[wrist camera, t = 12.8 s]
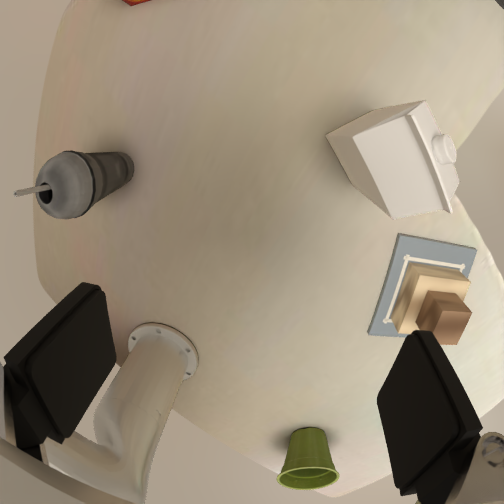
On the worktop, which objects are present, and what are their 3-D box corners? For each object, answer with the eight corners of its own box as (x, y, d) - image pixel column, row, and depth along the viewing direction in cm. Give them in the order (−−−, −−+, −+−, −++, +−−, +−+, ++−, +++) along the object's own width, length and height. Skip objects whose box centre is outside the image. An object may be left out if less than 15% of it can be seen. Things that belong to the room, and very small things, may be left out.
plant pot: (282, 419, 53) (280, 466, 43) (341, 420, 52) (346, 466, 42) (276, 447, 57) (273, 489, 47) (328, 448, 57) (331, 489, 46)
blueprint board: (439, 336, 43) (441, 339, 42) (367, 331, 43) (368, 335, 43) (474, 248, 37) (477, 250, 36) (398, 233, 37) (400, 235, 36)
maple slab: (438, 320, 41) (447, 335, 37) (390, 317, 41) (398, 333, 37) (458, 269, 37) (470, 282, 34) (409, 262, 38) (419, 275, 34)
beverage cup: (92, 179, 39) (-13, 221, 20) (110, 133, 36) (-2, 150, 17) (130, 203, 39) (32, 262, 21) (151, 156, 37) (48, 187, 18)
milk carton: (352, 186, 36) (411, 237, 18) (324, 135, 34) (366, 138, 16) (399, 160, 34) (487, 191, 16) (373, 109, 32) (451, 95, 14)
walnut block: (442, 323, 36) (456, 344, 32) (415, 322, 37) (427, 344, 32) (455, 293, 34) (472, 312, 30) (427, 290, 35) (442, 310, 30)
